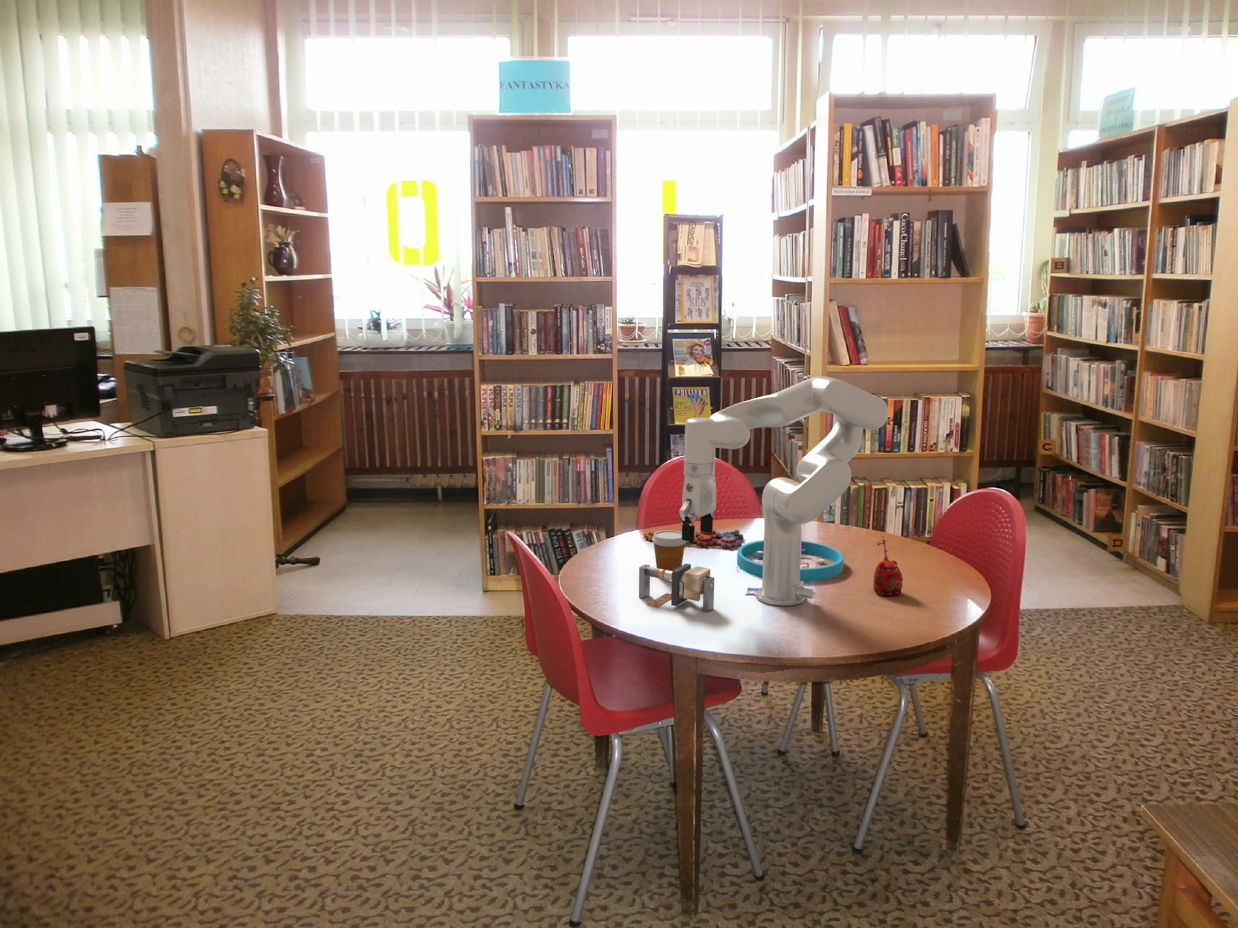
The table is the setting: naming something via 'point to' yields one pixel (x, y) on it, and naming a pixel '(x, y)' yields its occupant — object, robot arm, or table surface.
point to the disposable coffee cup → (668, 549)
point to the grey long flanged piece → (648, 572)
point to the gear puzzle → (710, 539)
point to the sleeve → (694, 582)
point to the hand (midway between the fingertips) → (697, 536)
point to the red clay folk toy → (887, 576)
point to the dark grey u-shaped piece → (678, 585)
